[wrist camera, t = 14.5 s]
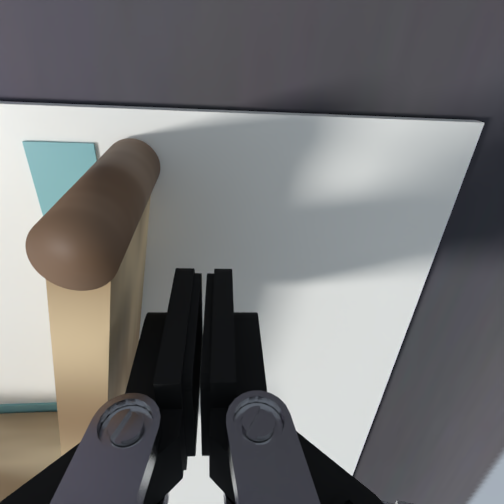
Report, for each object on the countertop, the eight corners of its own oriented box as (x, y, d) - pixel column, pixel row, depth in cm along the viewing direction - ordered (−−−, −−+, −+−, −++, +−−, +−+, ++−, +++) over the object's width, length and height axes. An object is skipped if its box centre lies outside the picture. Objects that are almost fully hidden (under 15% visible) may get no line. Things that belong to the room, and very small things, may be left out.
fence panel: (139, 398, 16) (109, 532, 12) (103, 395, 16) (58, 531, 12) (162, 144, 11) (120, 223, 6) (106, 133, 10) (20, 208, 6)
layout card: (341, 492, 24) (344, 500, 24) (-39, 514, 22) (-45, 524, 21) (476, 120, 12) (486, 123, 11) (-382, 85, 9) (-410, 88, 9)
